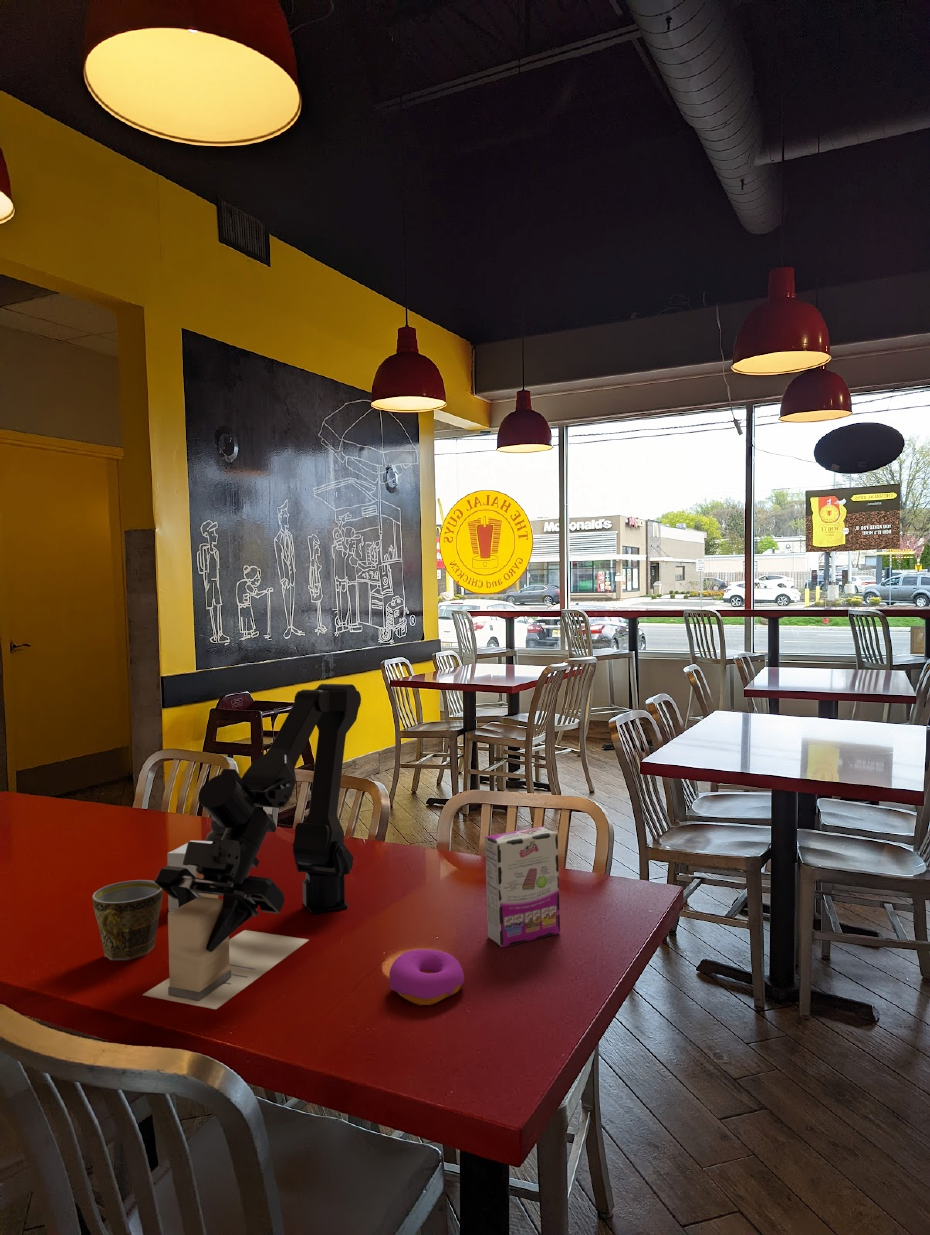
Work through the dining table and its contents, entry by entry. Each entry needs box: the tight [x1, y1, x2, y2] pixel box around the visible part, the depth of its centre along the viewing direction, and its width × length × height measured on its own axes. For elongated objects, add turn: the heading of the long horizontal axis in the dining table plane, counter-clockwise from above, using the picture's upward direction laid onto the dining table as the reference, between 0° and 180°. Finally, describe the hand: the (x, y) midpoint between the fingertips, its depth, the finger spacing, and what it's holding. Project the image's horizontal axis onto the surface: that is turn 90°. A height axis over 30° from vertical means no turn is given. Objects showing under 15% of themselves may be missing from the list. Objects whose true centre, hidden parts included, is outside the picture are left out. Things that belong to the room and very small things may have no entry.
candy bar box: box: [484, 826, 561, 948], centre depth 129 cm, size 11×5×16 cm, turn 117°
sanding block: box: [167, 896, 231, 1000], centre depth 112 cm, size 7×5×11 cm
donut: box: [388, 948, 465, 1006], centre depth 112 cm, size 10×10×5 cm
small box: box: [166, 840, 219, 913], centre depth 145 cm, size 8×6×10 cm
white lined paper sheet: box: [142, 929, 310, 1010], centre depth 118 cm, size 23×12×1 cm, turn 160°
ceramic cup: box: [92, 879, 164, 961], centre depth 123 cm, size 13×10×10 cm
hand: (192, 948), depth 110 cm, fingers closed on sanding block, 5 cm apart
